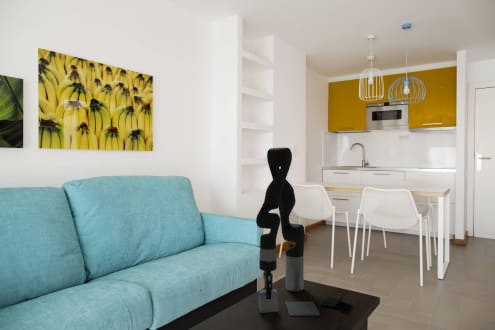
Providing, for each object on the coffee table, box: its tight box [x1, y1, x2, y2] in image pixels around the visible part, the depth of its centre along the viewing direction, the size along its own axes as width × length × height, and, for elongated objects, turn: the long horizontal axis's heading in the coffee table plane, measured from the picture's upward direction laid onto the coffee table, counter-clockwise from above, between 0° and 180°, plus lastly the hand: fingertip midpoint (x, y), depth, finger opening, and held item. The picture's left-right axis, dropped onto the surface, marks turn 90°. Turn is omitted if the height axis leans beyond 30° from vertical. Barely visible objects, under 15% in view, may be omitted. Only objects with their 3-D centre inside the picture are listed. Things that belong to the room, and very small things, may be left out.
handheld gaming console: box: [321, 290, 348, 310], centre depth 165 cm, size 12×7×10 cm
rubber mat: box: [284, 301, 321, 317], centre depth 160 cm, size 14×13×1 cm
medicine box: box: [258, 288, 279, 314], centre depth 158 cm, size 8×4×9 cm, turn 100°
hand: (267, 295), depth 158 cm, fingers open, 8 cm apart
